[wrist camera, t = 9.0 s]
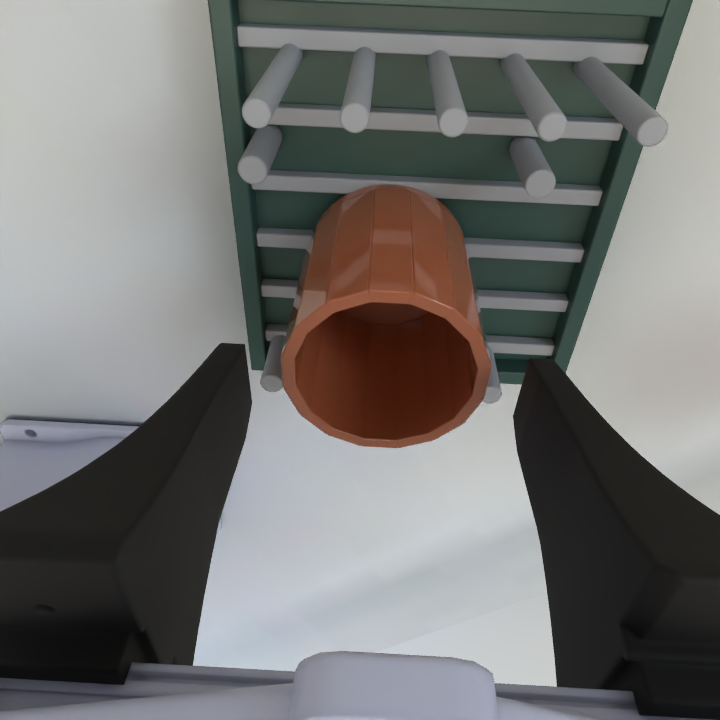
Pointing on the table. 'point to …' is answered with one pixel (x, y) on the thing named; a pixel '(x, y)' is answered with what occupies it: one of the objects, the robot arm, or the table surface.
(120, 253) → the table surface
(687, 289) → the table surface
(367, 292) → the cup
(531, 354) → the rack
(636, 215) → the table surface
